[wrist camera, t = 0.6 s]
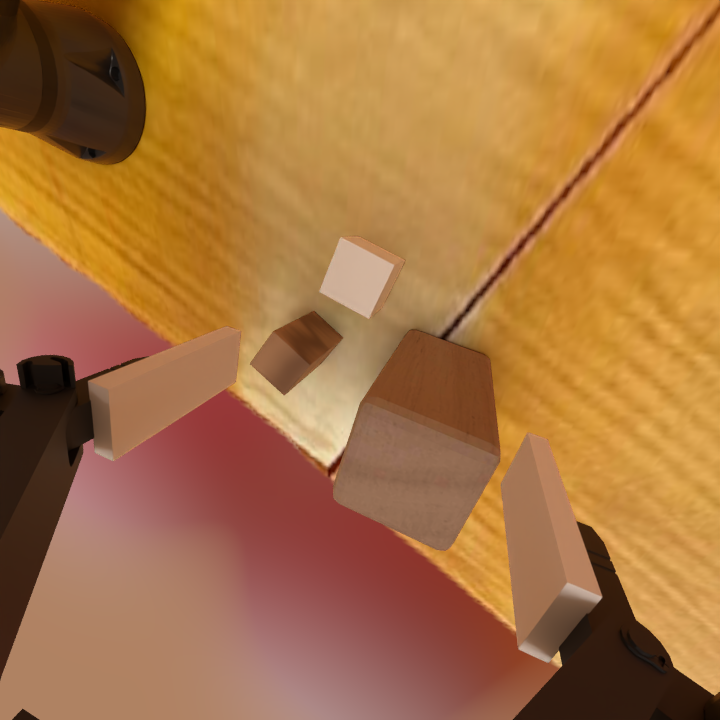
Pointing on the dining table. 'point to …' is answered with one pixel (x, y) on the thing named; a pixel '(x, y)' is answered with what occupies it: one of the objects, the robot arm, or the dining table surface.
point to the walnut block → (295, 351)
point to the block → (422, 441)
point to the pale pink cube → (361, 275)
